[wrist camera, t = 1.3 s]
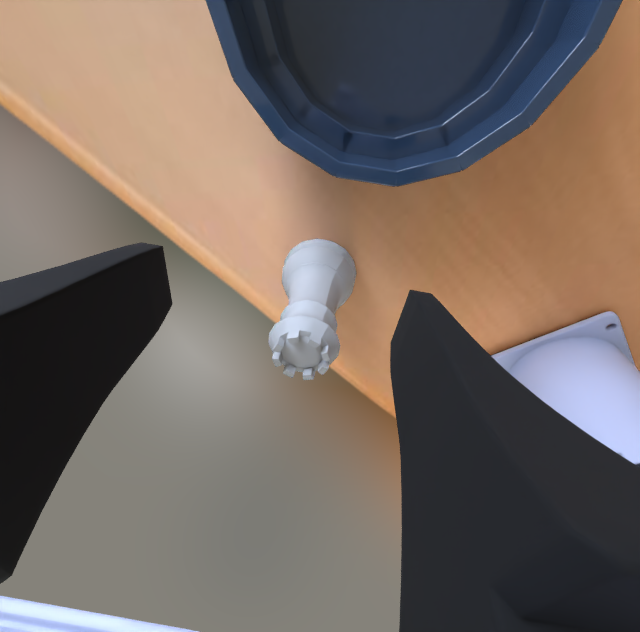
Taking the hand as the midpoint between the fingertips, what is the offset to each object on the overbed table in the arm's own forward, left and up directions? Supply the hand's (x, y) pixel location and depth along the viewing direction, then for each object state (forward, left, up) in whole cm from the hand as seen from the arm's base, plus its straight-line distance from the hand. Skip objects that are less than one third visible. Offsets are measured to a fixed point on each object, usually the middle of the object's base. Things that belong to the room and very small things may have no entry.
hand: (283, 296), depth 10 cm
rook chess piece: (-4, +3, -10) cm, 11 cm away
